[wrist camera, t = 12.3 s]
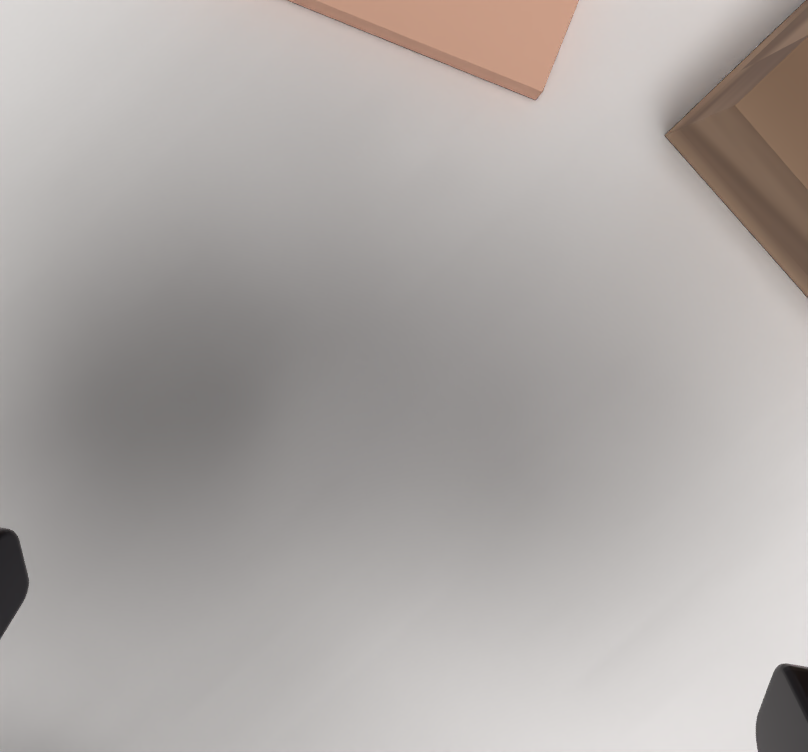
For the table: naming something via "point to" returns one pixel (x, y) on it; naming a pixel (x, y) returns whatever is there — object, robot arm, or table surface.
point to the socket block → (760, 143)
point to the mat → (468, 33)
